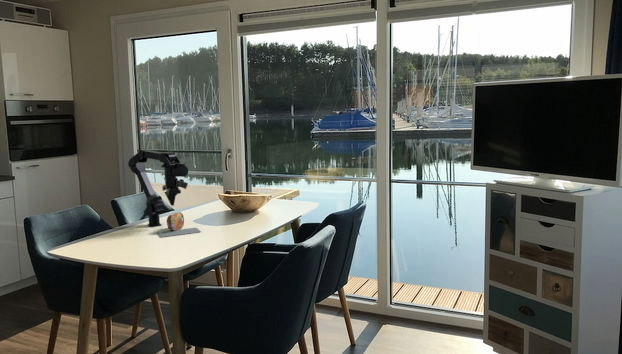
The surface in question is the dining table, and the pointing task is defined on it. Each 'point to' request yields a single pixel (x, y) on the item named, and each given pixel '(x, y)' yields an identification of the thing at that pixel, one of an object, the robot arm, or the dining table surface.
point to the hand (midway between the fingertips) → (172, 205)
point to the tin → (175, 221)
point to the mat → (178, 232)
